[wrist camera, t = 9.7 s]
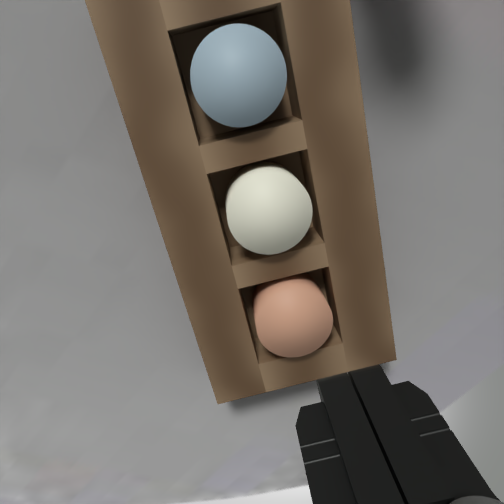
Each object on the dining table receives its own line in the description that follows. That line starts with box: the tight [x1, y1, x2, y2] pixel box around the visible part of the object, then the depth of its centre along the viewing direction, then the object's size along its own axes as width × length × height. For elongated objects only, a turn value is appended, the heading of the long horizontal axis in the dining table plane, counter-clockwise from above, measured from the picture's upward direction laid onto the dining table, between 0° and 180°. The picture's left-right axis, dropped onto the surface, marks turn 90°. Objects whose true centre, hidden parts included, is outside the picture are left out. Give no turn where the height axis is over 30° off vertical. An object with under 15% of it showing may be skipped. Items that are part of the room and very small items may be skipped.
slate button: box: [190, 24, 287, 127], centre depth 23 cm, size 5×5×3 cm
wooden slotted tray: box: [85, 0, 396, 404], centre depth 26 cm, size 12×24×4 cm, turn 13°
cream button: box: [225, 161, 312, 255], centre depth 25 cm, size 5×5×3 cm
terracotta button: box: [252, 272, 333, 357], centre depth 28 cm, size 5×5×3 cm
